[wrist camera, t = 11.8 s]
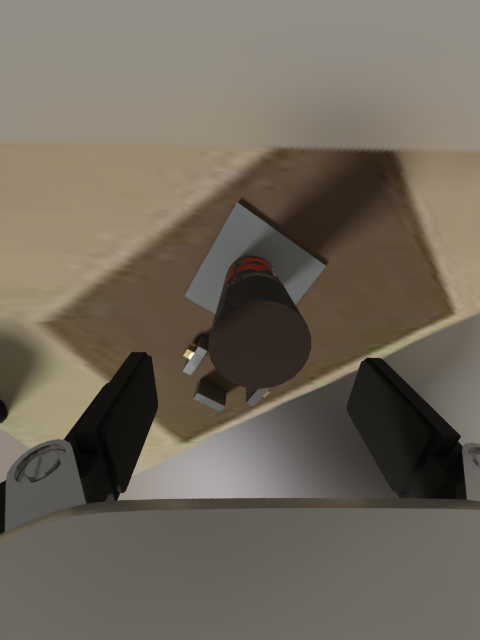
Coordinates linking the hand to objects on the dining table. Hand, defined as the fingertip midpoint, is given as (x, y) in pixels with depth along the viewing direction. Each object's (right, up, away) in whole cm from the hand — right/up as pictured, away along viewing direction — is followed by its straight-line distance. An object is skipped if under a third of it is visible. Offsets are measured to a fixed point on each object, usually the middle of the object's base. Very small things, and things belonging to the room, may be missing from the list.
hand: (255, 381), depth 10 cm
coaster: (+1, +8, +17) cm, 19 cm away
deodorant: (+1, +7, +17) cm, 18 cm away
